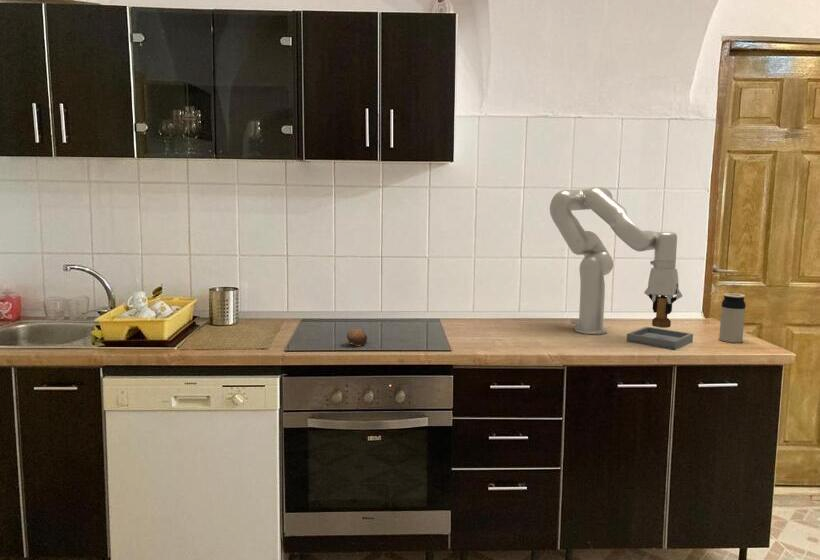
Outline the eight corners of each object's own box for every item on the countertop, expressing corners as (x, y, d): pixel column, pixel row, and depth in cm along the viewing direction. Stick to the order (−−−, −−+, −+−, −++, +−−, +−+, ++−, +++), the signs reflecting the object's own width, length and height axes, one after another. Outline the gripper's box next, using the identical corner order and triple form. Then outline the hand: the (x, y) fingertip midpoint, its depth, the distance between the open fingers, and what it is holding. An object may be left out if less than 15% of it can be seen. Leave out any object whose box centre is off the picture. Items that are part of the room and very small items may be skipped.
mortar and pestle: (667, 328, 228) (670, 280, 225) (649, 326, 231) (652, 279, 229) (672, 325, 233) (674, 278, 230) (654, 323, 237) (657, 277, 234)
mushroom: (342, 334, 228) (349, 322, 225) (360, 340, 232) (368, 328, 229) (343, 348, 222) (351, 336, 219) (362, 354, 225) (370, 343, 222)
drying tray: (626, 341, 233) (627, 333, 232) (646, 333, 246) (646, 326, 245) (674, 350, 221) (675, 341, 220) (692, 341, 233) (693, 333, 233)
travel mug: (728, 343, 231) (732, 296, 228) (714, 338, 238) (718, 293, 236) (747, 342, 232) (751, 296, 230) (732, 337, 240) (736, 292, 237)
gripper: (638, 264, 232) (636, 311, 234) (683, 267, 221) (680, 317, 223) (646, 262, 237) (644, 308, 240) (691, 265, 226) (688, 314, 228)
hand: (661, 312), depth 231 cm, fingers closed on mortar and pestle, 4 cm apart
